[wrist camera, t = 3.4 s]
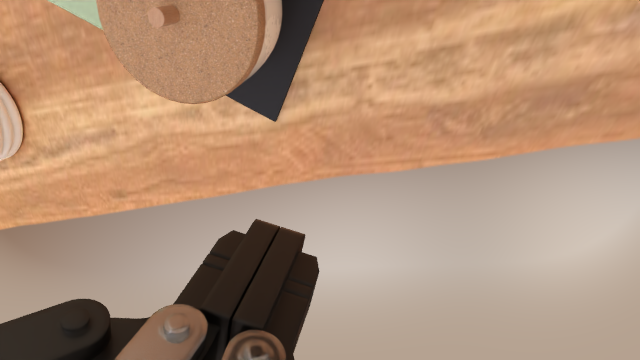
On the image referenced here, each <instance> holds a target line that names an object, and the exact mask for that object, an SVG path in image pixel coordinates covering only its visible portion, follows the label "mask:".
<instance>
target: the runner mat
mask: <svg viewBox="0 0 640 360" xmlns="http://www.w3.org/2000/svg"><path fill="white" fill-rule="evenodd" d="M48 1H50V2H52V3H54V4H55V5H57V6H59V7H61V8H63V9H65V10H67V11H69V12H70V13H72V14H74V15H76V16H78V17H80V18H82V19H83V20H85V21H87V22H89V23H91V24H93V25H95V26H97V27H98V28H100V29H102V30H103V28H102V25H101V22H100V19H99V14H98V9H97V3H96V0H48ZM322 3H323V0H282V22H281V29H280V33H279V37H278V39H277V42H276V44H275V47H274V49H273V50H272V52H271V54H270V55H269V57H268V58H267V60H266V62H265V63H264V64H263V65H262V66H261V67H260V68H259V69H258V70H257V71H256V72H255V74H254V75H252V76H251V77H250V78H248V79H247V80H246V81H244V82H243V83H242V84H241V85H239V86H238V87H237V88H235V89H234V90H233V91H232V92H230V93H228V94H227V95H226V96H228V97H230V98H231V99H233V100H235V101H237V102H239V103H241V104H243V105H245V106H246V107H248V108H250V109H252V110H254V111H256V112H258V113H260V114H261V115H263V116H265V117H267V118H269V119H271V120H273V121H275V122H276V120H277V117H278V115H279V112H280V110H281V107H282V105H283V102H284V100H285V97H286V95H287V92H288V89H289V87H290V84H291V82H292V79H293V77H294V74H295V72H296V69H297V67H298V64H299V62H300V59H301V56H302V54H303V51H304V49H305V46H306V44H307V41H308V39H309V36H310V34H311V31H312V28H313V26H314V23H315V21H316V18H317V16H318V13H319V11H320V8H321V6H322Z"/></svg>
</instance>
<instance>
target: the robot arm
mask: <svg viewBox="0 0 640 360" xmlns="http://www.w3.org/2000/svg"><path fill="white" fill-rule="evenodd" d="M304 239H305V234H302V233H299V232H296V231H292V230H290V229H286V228H283V227H281V228H280V226H277V225H274V224H270V223H267V222H264V221H261V220H258V219H256V220H255V221H254V222H253V223H252V225H251V227H250V228H249V230H248V232H247V233H246V234H243V233H240V232H237V231H234V230H233V231H231V232H229V233H228V234H226V235H225V236H223V237H221V238H220V239H219V240H218V241H217V242H216V244H215V245H214V247H213V248H212V250H211V251H210V254H208V255H207V257H206V258H205V260H204V261H203V264H201V265H200V267H199V268H198V270H197V271H196V273H195V274H194V276H193V277H192V278H191V280H190V281H189V283H188V284H187V285H186V287H185V289H184V290H183V291H182V293H181V294H180V296H179V297H178V299H177V300H176V301H175V303H174V304H173V305H169V306H166V307H163V308H161V309H159V310H158V311H157V312H155V313H154V314H153V315H152V316H151V317H149V318H142V319H130V318H110V314H109V311H108V309H107V308H106V307H105V306H104V305H103V304H101V303H100V302H97V301H95V300H91V299H76V300H71V301H68V302H64V303H61V304H58V305H55V306H52V307H49V308H47V309H44V310H41V311H38V312H35V313H32V314H29V315H26V316H23V317H20V318H17V319H14V320H11V321H8V322H5V323H2V324H0V360H294V356H293V353H294V350H295V347H296V344H297V341H298V338H299V335H300V333H301V330H302V327H303V324H304V321H305V318H306V315H307V313H308V310H309V307H310V303H311V299H312V296H313V292H314V289H315V285H316V281H317V278H318V274H319V268H318V262H317V257H315V256H312V255H308V254H305V253H302V248H303V244H304Z"/></svg>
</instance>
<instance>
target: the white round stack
mask: <svg viewBox="0 0 640 360" xmlns="http://www.w3.org/2000/svg"><path fill="white" fill-rule="evenodd" d="M22 138H23V126H22V120H21V117H20V113H19V111H18V108H17V106H16V104H15V102H14V100H13V99H12V97H11V95H10V94H9V92H8V91H7V90H6V88H5V87H4V86H3V85H2V84H1V83H0V161H1V160H3V159H6V158H9V157H11V156H12V155H13V154H14V153H16V152H17V151H18V149H19V148H20V145H21V143H22Z"/></svg>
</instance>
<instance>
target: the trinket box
mask: <svg viewBox="0 0 640 360" xmlns="http://www.w3.org/2000/svg"><path fill="white" fill-rule="evenodd" d="M96 3H97V9H98V14H99V19H100V22H101V25H102V28H103V31H104V33H105V36H106V38H107V40H108V42H109V44H110V47H111V48H112V50H113V51H114V53H115V55H116V56H117V58H118V59H119V61H120V62H121V63H122V65H123V66H124V67H125V68H126V70H127V71H128V72H129V73H130V74H131V75H132V76H133V77H134V78H135V79H136V80H137V81H139V82H140V83H141V84H142V85H144V86H145V87H146V88H148V89H149V90H151V91H153V92H154V93H156V94H158V95H160V96H162V97H164V98H167V99H169V100H172V101H176V102H180V103H188V104H198V103H206V102H210V101H214V100H217V99H219V98H221V97H223V96H225V95H227V94H228V93H230V92H232V91H233V90H234V89H235V88H237V87H238V86H239V85H241V84H242V83H243V82H244V81H246V80H247V79H248V78H250V77H251V76H252V75H254V74H255V72H256V71H257V70H258V69H259V68H260V67H261V66H262V65H263V64H264V63H265V62H266V60H267V58H268V57H269V55H270V54H271V52H272V50H273V49H274V47H275V44H276V42H277V39H278V37H279V33H280V29H281V22H282V0H96Z"/></svg>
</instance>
